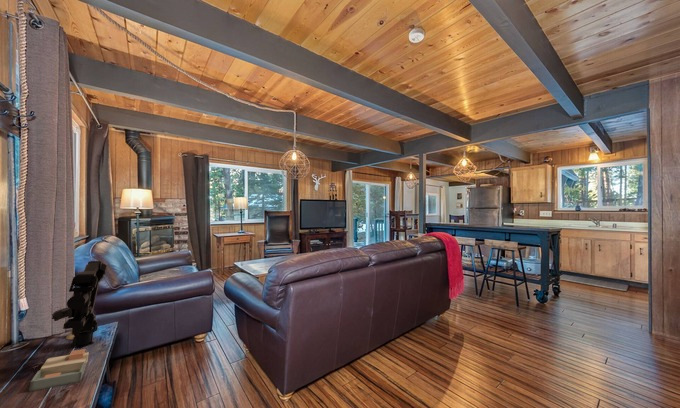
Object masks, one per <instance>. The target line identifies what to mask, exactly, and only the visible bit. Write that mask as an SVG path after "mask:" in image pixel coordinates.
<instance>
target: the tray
mask: <svg viewBox="0 0 680 408" xmlns="http://www.w3.org/2000/svg"><path fill="white" fill-rule="evenodd" d="M85 365H87V363H83V365H82V367H81V370H80V371H77V372H71V373H65V374H61V375H60V376H55V377H49V378H44V377H43V378H40V375H41V370H37V372H36V374H35V375H34V376H33V377H32V379H31V380H30V382H29V389H28V392H29V393H30V392H34V391H40V390H46V389H50V388H56V387H61V386H66V385H70V384H76V383H80V382H81V380H82V379H83V377H84V375H85V372H84V371H86V366H85Z"/></svg>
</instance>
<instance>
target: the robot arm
mask: <svg viewBox="0 0 680 408" xmlns="http://www.w3.org/2000/svg"><path fill="white" fill-rule="evenodd" d="M107 273H108V266H107V265H106V264H104V263H103V262H102V261H101V260H89V261H88V262H87V264H86V265H85V267H84V270H83V271H81V272H78V273H76V274H75V276H73V278H72V280H71V284H70V287H69V289H68V292H69V293H72V295H71V296H70V298H69V299H68V300H67V301H66V306H67V307H65V308H60V309H58V310H56V311H54V312H53V313H52V314H51V315H52V317H51V319H52V320H53V321H54V322H57V321H59V320H62V319H64V318H68V319H67V320H65V322H64V324H63V327H62V329H63V330H67V329H71V331H72V335H74V337H73V340H72V343H71V344H70V346H71V347H75V348H77V349H81V348H83V347H86V346H89V345H93V344H94V343H95V342H94V341H93V337H94V333H95V332H97V331H98V328H99V327H98V325H99V324H98V320H97V319H96V318H97V316H96V314H95V313H94V309H95V304H96V299H97V294H98V291H99V290H98V289H99V285H100V283H101V281H103V280H104V278H105V275H107Z"/></svg>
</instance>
